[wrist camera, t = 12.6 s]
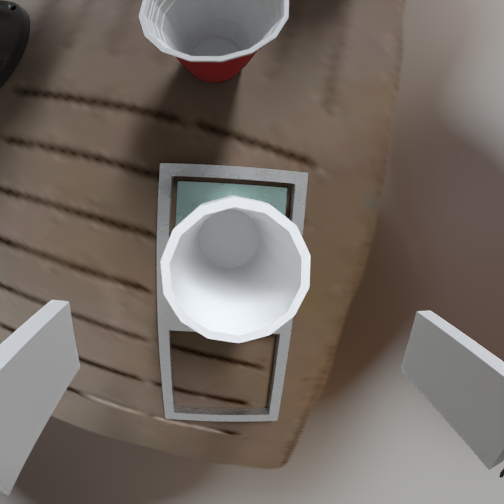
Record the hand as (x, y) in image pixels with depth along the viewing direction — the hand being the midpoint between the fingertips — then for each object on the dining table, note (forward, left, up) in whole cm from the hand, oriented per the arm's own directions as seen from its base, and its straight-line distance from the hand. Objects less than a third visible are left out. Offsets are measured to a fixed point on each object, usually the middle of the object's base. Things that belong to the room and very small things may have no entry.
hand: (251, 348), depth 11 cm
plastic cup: (-3, +19, -22) cm, 29 cm away
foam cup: (0, 0, -22) cm, 22 cm away
